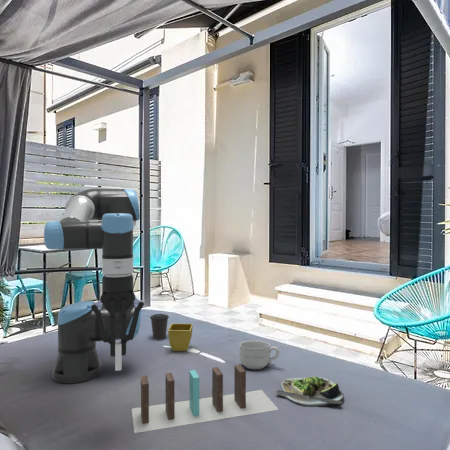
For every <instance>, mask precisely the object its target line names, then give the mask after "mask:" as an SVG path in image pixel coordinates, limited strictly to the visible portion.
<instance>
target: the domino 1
mask: <svg viewBox="0 0 450 450" xmlns="http://www.w3.org/2000/svg"><path fill="white" fill-rule="evenodd" d="M149 406H150V383H149V379H148V375H141V376H140V407H141V418H142V424H145V423H149Z"/></svg>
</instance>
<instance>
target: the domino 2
mask: <svg viewBox="0 0 450 450" xmlns="http://www.w3.org/2000/svg"><path fill="white" fill-rule="evenodd" d="M175 395H176V394H175V378H174V376H173V373H172V372H166V373H165V404H166V413H167V417H168V420H170V419H175V402H176V400H175Z"/></svg>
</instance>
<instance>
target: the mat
mask: <svg viewBox="0 0 450 450" xmlns="http://www.w3.org/2000/svg"><path fill="white" fill-rule="evenodd" d="M279 410H280V409H279V408H278V407H277V406H276V405H275V403H274V402H273V401H272V400H271V399H270V398H269V397H268V396H267V394H266V393H265V392H264V391H263V389H258V390H252V391H246V408H241V409H240V407H239V406H238V405H237V403H236V402H235V400H234V393H230V394H225V395H224V394H223V411H222V412H217V411H216V409H215V407H214V405H213V404H212V396H210V397H204V398H203V397H202V398H199V415H197V416H193V414H192V412H191V409H190V403H189V399H187V400H183V401H175V419H170V420H168V417H167V413H166V403H160V404H155V405H149V423H145V424H142V418H141V406H140V407H135V408H134V407H133V408H131V414H132V415H131V416H132V425H133V433H134V434H138V433H143V432H144V433H145V432H150V431H158V430H162V429H168V428H175V427H181V426H189V425H193V424H200V423H207V422H211V421H218V420H224V419H230V418H235V417H236V418H237V417H242V416H249V415H254V414H255V415H256V414H261V413H268V412H273V411H279Z"/></svg>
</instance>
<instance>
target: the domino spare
mask: <svg viewBox="0 0 450 450" xmlns="http://www.w3.org/2000/svg"><path fill="white" fill-rule="evenodd" d="M188 374H189V376H188V378H189V384H188V385H189V388H188V389H189V391H188V393H189V395H188V397H189V399H188V400H189V403H190V409H191V412H192V414H193V416H197V415H199V399H200V376H199V374H198V373H197V370H196V369H191V370H189V373H188Z"/></svg>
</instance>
